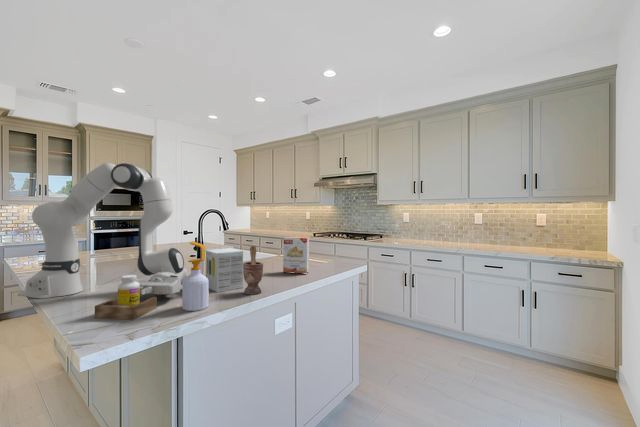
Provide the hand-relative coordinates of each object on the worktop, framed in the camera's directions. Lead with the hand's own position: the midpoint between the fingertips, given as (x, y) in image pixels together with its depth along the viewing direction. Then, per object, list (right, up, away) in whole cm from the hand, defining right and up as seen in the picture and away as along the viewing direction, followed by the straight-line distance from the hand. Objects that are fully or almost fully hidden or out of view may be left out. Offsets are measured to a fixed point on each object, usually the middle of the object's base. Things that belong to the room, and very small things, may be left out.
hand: (138, 292), depth 116 cm
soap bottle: (+21, -6, 0) cm, 22 cm away
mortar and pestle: (+37, -6, +23) cm, 44 cm away
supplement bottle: (0, -6, -5) cm, 8 cm away
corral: (-1, -6, -6) cm, 8 cm away
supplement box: (+23, -5, +30) cm, 38 cm away
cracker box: (+54, -5, +64) cm, 84 cm away
